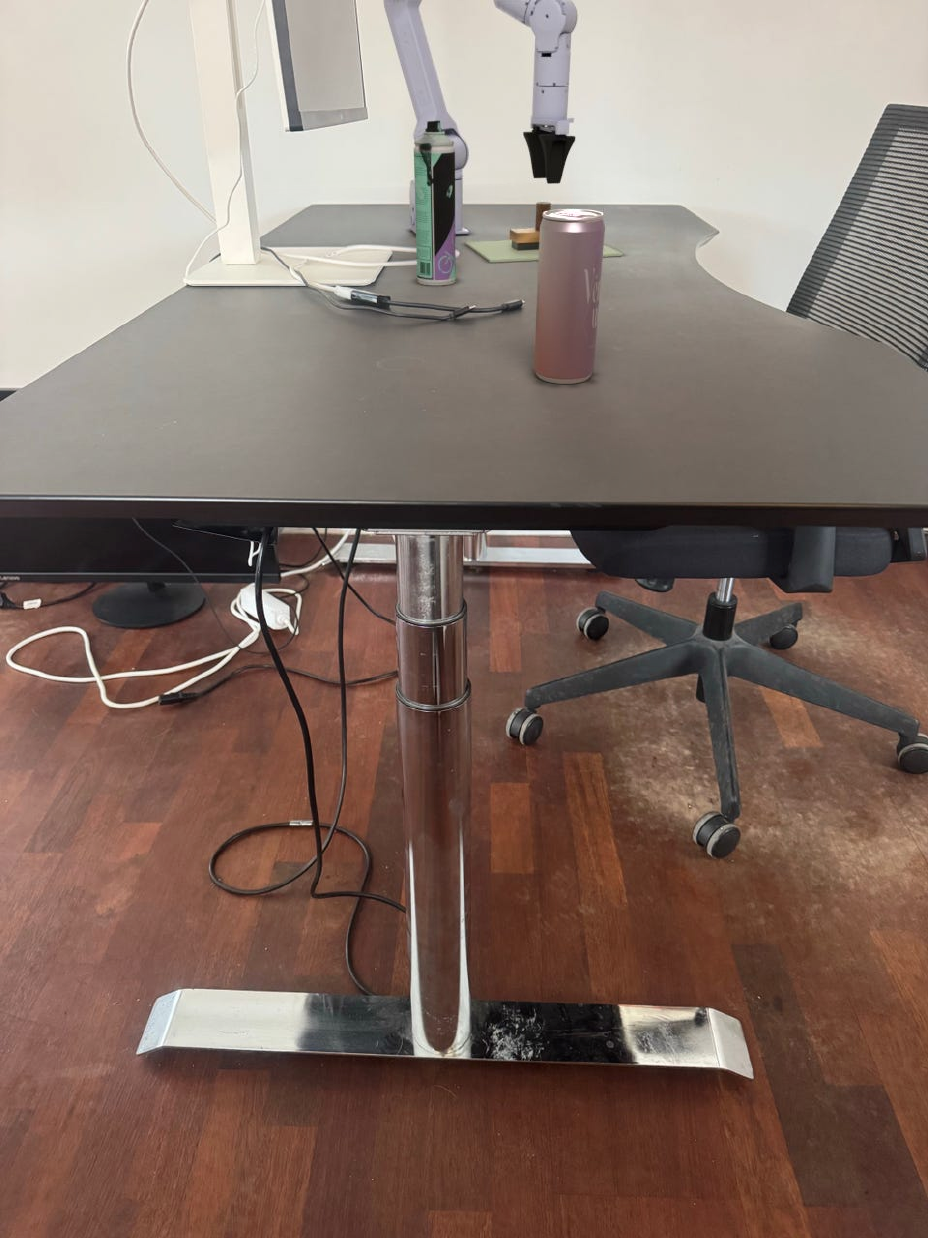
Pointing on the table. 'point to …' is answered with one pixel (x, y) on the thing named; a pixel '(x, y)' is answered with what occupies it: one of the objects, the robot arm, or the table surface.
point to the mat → (515, 251)
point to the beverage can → (568, 294)
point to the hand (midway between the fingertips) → (546, 180)
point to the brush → (529, 231)
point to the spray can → (435, 206)
